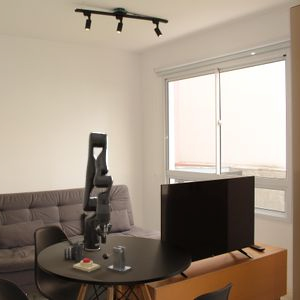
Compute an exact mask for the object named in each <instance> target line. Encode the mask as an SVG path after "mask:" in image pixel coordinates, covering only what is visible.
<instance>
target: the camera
mask: <svg viewBox="0 0 300 300" xmlns="http://www.w3.org/2000/svg"><path fill="white" fill-rule="evenodd" d="M82 241H83V240H77V241H76V242H74V243H73V245H72V246H71V247H65V248H64V253H63V255H64V259H65V260H69V261H70V260H75V261H76V262H81V261H82V260H83V250H84V244H83V242H82Z"/></svg>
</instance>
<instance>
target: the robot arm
mask: <svg viewBox="0 0 300 300" xmlns="http://www.w3.org/2000/svg"><path fill="white" fill-rule="evenodd" d="M87 144H88V145H87V146H88V147H87V161H86V169H85V181H84V182H85V183H84V190H83V196H82V202H81V207H82V208H81V209H82V211H83V212H85V213H90V212H92V213H91V214H90V215H88V216H86V217H85V218H84V234H83V240H81V241H82V242H83V250H85V251H87V252H96V251H100V250H101V244H102V245H105V244H107V236H109V235H110V232H111V231H112V228H113V225H112V224H110V221H111V192H112V188H113V186H114V185H113V184H114V178H113V176H112V175H111V174H108V173H109V162H108V161H109V160H108V155H109V154H108V152H109V138H108V134H107V133H106V132H100V131H99V132H98V131H91V132H90V133H89V135H88V143H87ZM94 149H101V151H100V152H99V153H98V155H97V156H96V154H95V150H94ZM95 188H96V189H105V190H103V191H100V192H97V194H96V196H91V195H92V192H93V190H94V189H95ZM64 241H65V242H68V243H69V244H70V245H72V246H73V244H74V243H73V241H72V240H70V239H67V238H66V239H65V238H64V239H62V240H61V242H62V243H63V242H64Z"/></svg>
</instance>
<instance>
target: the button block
mask: <svg viewBox="0 0 300 300" xmlns="http://www.w3.org/2000/svg"><path fill="white" fill-rule="evenodd" d="M72 267H73V269H77V270H81V271H84V272H88V273H90V272H92V271H95V270H97V269H100V268H101V265H100V264H97V263H94V261H93V260H91V259H90V262H89V263H84V262H83V259H82V261H79V262H78V263H75V264H73V266H72Z"/></svg>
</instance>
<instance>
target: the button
mask: <svg viewBox="0 0 300 300" xmlns="http://www.w3.org/2000/svg"><path fill="white" fill-rule="evenodd" d="M82 260H83V262H84V263H89V262H90V260H91V258H88V257H84V258H82Z"/></svg>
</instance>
